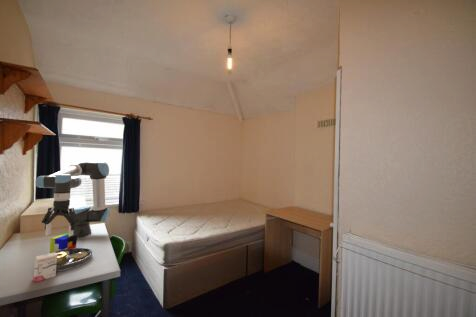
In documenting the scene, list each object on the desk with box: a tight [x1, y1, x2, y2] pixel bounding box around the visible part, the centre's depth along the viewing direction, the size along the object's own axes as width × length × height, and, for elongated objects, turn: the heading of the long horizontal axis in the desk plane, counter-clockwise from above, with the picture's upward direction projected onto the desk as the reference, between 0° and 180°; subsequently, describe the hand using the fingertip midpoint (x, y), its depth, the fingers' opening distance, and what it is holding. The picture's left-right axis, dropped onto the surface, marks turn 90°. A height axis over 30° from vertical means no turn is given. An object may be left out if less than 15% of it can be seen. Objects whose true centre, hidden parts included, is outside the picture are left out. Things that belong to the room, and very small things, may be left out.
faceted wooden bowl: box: [56, 252, 67, 265], centre depth 122 cm, size 8×8×6 cm
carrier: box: [53, 247, 93, 273], centre depth 129 cm, size 26×26×6 cm
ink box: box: [32, 252, 57, 283], centre depth 111 cm, size 9×5×12 cm, turn 139°
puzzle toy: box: [49, 233, 78, 253], centre depth 145 cm, size 10×10×10 cm
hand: (59, 235), depth 124 cm, fingers open, 13 cm apart
